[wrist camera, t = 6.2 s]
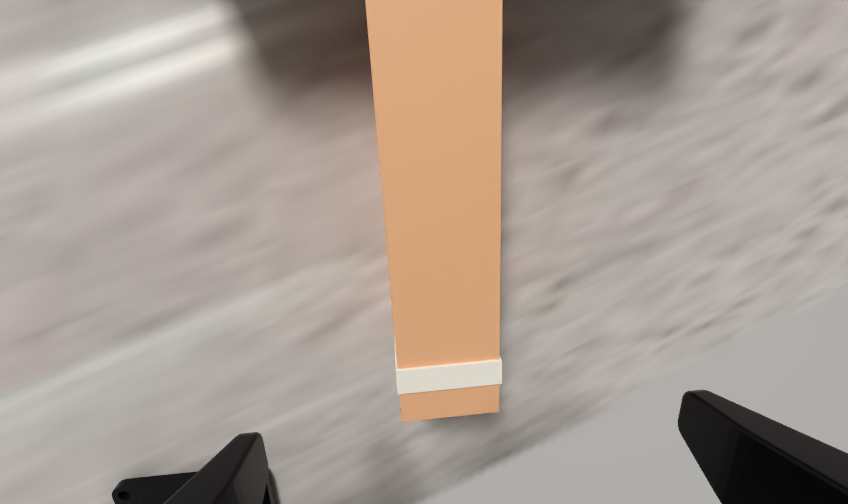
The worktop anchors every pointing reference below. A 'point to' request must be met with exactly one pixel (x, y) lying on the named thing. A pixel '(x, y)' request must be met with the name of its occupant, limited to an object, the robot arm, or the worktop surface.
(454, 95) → the tan banded carton
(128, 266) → the worktop surface
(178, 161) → the worktop surface
